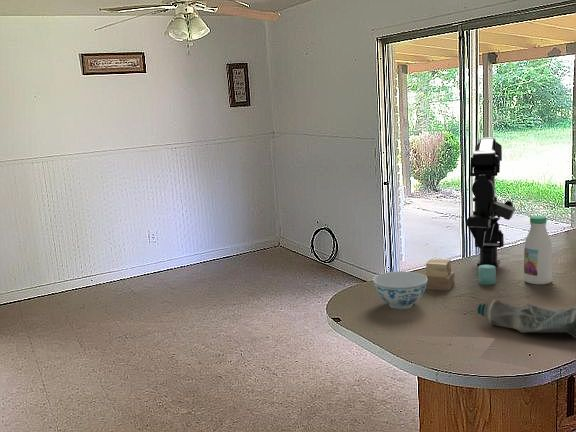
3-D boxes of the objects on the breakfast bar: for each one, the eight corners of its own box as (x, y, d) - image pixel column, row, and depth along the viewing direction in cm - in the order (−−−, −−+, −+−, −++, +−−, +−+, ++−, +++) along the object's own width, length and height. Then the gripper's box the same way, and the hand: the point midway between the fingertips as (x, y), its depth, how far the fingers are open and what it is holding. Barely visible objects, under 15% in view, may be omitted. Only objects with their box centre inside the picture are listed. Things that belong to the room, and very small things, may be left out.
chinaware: (428, 314, 163) (428, 287, 162) (372, 314, 166) (371, 287, 165) (427, 296, 178) (426, 271, 176) (375, 296, 181) (374, 271, 179)
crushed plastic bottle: (590, 327, 147) (486, 310, 162) (591, 300, 146) (486, 285, 160) (580, 352, 137) (470, 331, 151) (581, 323, 135) (470, 305, 149)
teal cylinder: (480, 279, 190) (479, 264, 189) (496, 280, 188) (496, 265, 187) (477, 284, 186) (476, 268, 185) (494, 285, 183) (494, 269, 182)
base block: (430, 282, 192) (430, 270, 191) (454, 284, 188) (454, 271, 187) (424, 289, 185) (423, 276, 184) (448, 291, 182) (448, 278, 181)
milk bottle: (546, 277, 188) (547, 213, 184) (555, 284, 180) (556, 218, 177) (520, 278, 189) (521, 215, 185) (528, 285, 181) (528, 220, 177)
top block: (431, 270, 190) (431, 258, 189) (450, 272, 187) (450, 259, 186) (426, 276, 185) (426, 263, 184) (446, 277, 182) (446, 264, 181)
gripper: (505, 199, 170) (505, 253, 172) (518, 189, 185) (518, 239, 188) (465, 198, 175) (466, 250, 178) (481, 189, 191) (481, 237, 194)
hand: (484, 244), depth 184 cm, fingers open, 9 cm apart
